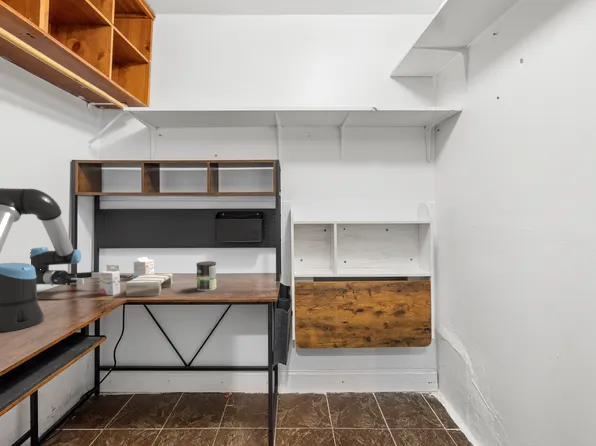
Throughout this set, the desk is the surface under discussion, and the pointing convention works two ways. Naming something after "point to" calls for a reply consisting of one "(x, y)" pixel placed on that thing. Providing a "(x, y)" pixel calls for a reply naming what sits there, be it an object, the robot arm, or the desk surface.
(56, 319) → the desk surface
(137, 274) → the ink box
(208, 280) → the coffee can
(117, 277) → the ink cartridge box
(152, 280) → the shelf bridge
